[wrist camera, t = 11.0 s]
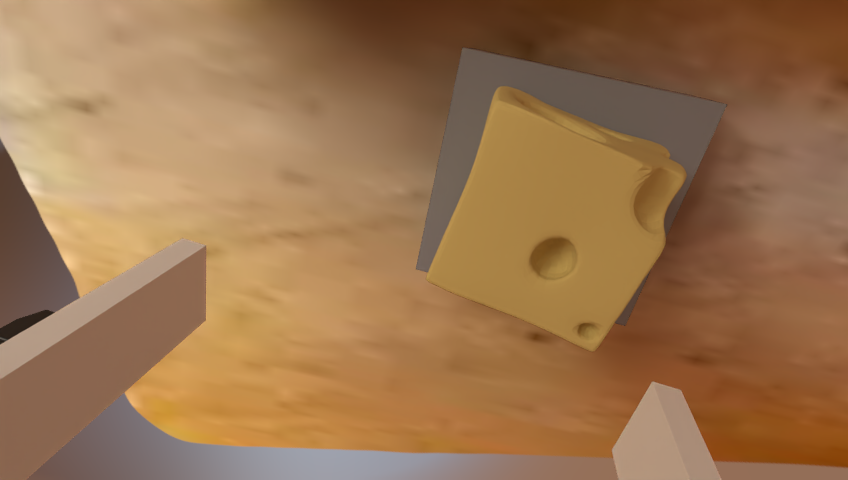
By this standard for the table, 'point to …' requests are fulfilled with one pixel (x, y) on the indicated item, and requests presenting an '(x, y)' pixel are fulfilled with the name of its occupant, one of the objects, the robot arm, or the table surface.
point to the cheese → (556, 219)
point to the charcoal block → (576, 94)
